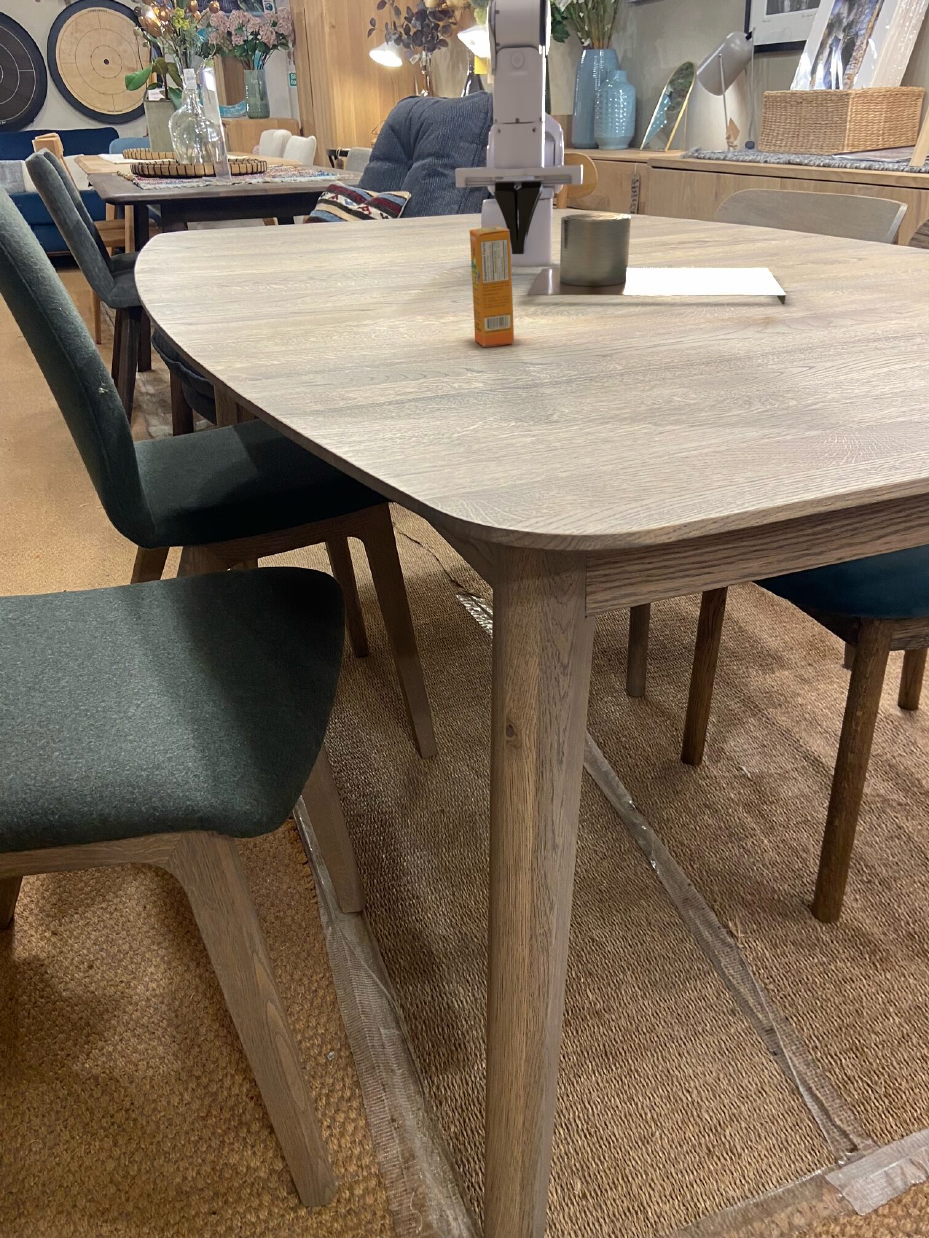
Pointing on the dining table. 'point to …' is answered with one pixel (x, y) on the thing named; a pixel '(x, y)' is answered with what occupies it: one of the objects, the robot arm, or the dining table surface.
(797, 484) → the dining table surface
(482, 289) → the supplement box
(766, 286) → the board
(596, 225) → the grey metal cylinder
